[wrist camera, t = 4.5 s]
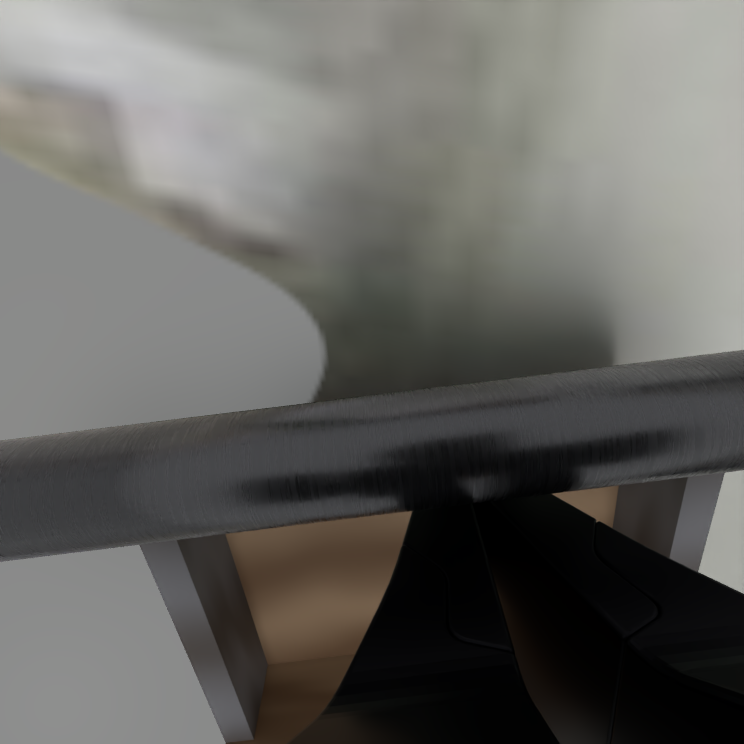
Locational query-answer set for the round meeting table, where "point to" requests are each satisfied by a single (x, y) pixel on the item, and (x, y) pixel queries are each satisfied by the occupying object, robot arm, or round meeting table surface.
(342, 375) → the round meeting table surface
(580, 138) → the round meeting table surface
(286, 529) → the brown and grey drawer
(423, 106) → the round meeting table surface
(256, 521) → the panel
